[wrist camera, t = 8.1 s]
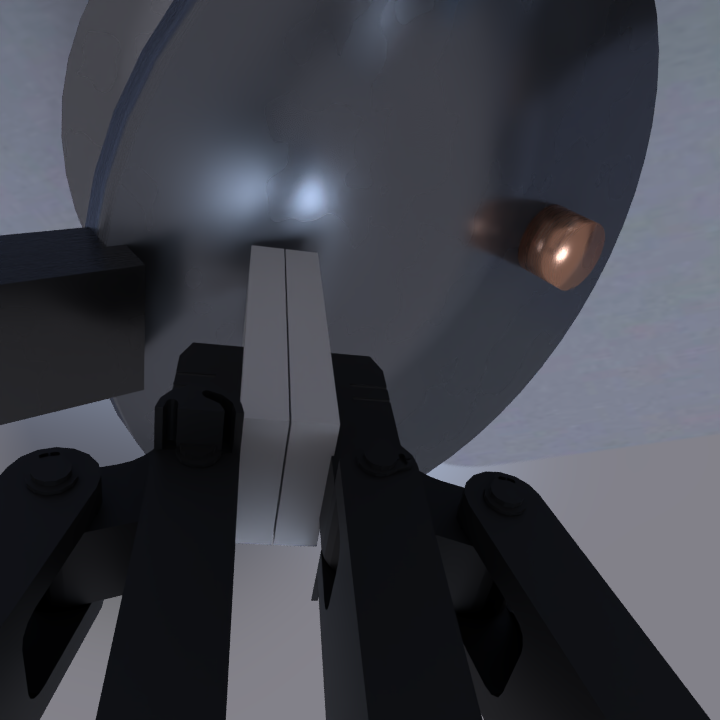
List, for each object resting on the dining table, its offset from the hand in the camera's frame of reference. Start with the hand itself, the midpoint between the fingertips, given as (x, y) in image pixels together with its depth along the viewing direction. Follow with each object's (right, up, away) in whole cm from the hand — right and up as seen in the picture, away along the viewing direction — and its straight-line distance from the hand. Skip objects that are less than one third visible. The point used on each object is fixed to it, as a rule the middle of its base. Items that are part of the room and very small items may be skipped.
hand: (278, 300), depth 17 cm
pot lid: (+2, +2, +3) cm, 4 cm away
